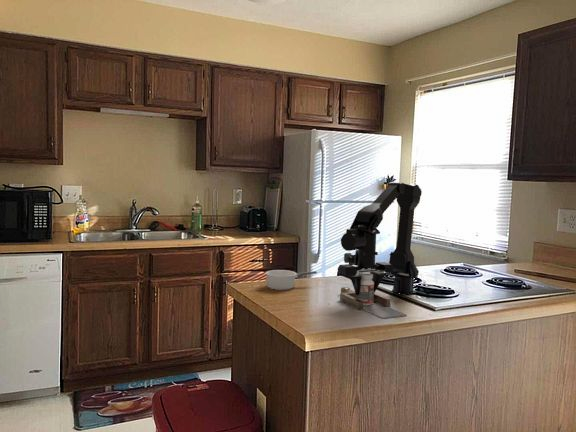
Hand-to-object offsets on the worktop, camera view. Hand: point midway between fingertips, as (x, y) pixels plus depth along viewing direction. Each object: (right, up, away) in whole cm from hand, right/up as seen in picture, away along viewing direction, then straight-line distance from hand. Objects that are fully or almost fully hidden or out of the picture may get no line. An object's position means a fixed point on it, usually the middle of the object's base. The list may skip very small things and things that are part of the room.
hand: (364, 294), depth 160 cm
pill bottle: (0, -3, 0) cm, 3 cm away
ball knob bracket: (-2, -3, +4) cm, 5 cm away
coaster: (+5, -4, -11) cm, 12 cm away
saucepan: (-24, -1, +21) cm, 32 cm away
